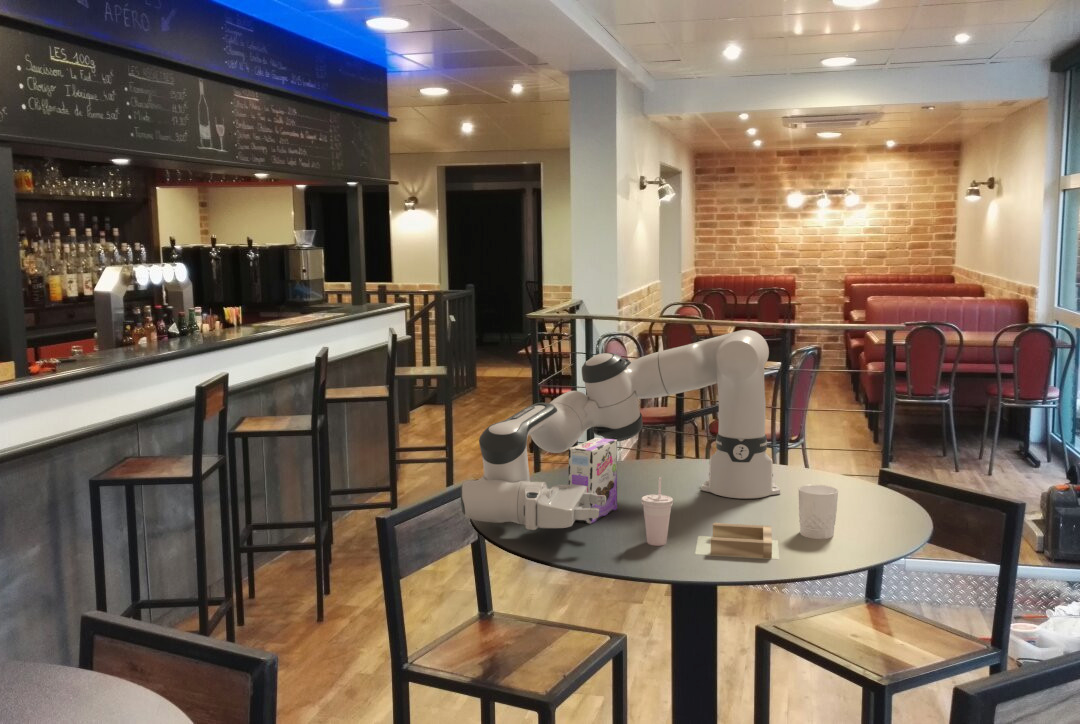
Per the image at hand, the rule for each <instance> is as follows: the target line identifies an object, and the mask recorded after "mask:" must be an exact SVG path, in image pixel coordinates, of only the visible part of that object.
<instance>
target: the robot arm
mask: <svg viewBox="0 0 1080 724" xmlns="http://www.w3.org/2000/svg"><path fill="white" fill-rule="evenodd" d="M769 350H770V348H769V345H768V343H767V340H766V339H765V338H764V337H763V336H762V335H761V334H760V333H758V332H757V331H754V330H750V329H741V330H737V331H733V332H729V333H725V334H722V335H718V336H714V337H710V338H707V339H704V340H700V341H697V342H693V343H688V344H685V345H681V346H677V347H672V348H667V349H664V350H659V351H657V352H653V353H649V354H646V355H643V356H641V357H638V358H636V359H634V360H631V361H630V359H628V358H623V356H621V355H619V354H616V353H613V352H605V353H599V354H595V355H594V356H592V357H590V358H589V359H587V360H585V362H584V363H583V364H582V367H581V375H582V382H584V386H585V390H586V394H585V393H583V392H581V391H578V390H571V391H566V392H564V393H563V394H561V395H559V396H557V397H556V398H554V399H553V400H551V401H550V402H536V403H533V404H531V405H528V406H527V407H525V408H523V409H521V410H519V411H518V412H516V413H514V414H513V415H512V416H510V417H508V418H506V419H504V420H501V421H497V422H495V423H493V424H491V425H489V426H488V427H486V428H485V429H484V431H483V432H482V433H481V435H480V436H479V439H478V444H479V448H480V452H481V456H482V463H483V476H482V477H480V478H478V480H475V479H474V480H468V481H464V482H462V484H461V488H460V507H461V512H462V514H463V516H464V517H465V518H467V519H470V520H473V521H479V522H485V523H496V524H497V523H498V524H501V523H507V522H510V523H512V522H513V523H515V524H518V525H524V526H525V529H526V530H530V531H535V530H537V529H538V528H539V529H564V528H570V527H572V526H573V524H574V523H575V522H576V521H575V520H582V519H587V518H598V516H599V508H593V507H591V508H583V506H584V505H585V504H590V503H592V504H597V505H605V503H606V496H604V495H596V494H593V493H587V487H586V486H583V485H569V484H557V485H553V486H551V487H550V488H549V487H548V485H547V482H546V481H531V480H530V479H531V478H530V468H529V459H528V458H529V457H528V437H529V436H530V437H531V439H532V441H533V442H534V444H535V445H536V446H538V448H540V449H541V450H543V451H545V452H548V453H552V454H559V453H563V452H565V451H567V450H568V451H569V448H572V447H574V445H575V444H576V443H577V442H578V440H579V439H580V438H581V437H582V436H583V434H584V433H585V432H586V431H588V430H589V429H592V433H594V434H595V435H596V436H600V437H601V438H605V439H615V440H617V442H624V441H626V440H627V441H628V440H630V439H632V438H634V437H635V436H637V435H638V434H639V433H640V432H641V430H642V429H643V414H642V412H641V410H640V405H639V402H638V399H639V400H640V399H641V400H643V399H644V400H645V399H653V398H654V399H655V398H662V397H667V396H671V395H673V396H674V395H677V394H681V393H686V392H689V391H695V390H698V389H704V388H706V387H708V386H712V385H716V384H717V395H718V427H717V428H718V433H716V438H715V442H716V443H715V445H716V446H715V447H716V451H715V453H713V454H712V455H711V456H710V458H709V463H708V464H709V472H708V479H707V480H706V481H705V482H704V483H702V485H701V487H700V490H701V491H704V492H708V493H712V494H714V495H716V496H717V495H718V496H721V497H723V498H724V497H725V498H731V499H759V498H766V497H768V496H772V495H773V496H775V495H779V494H781V489H780V487H779V486H778V485H777V484H776V483H775V482H774V480H773V476H774V473H773V459H772V458H771V457H770V456H769V454H767V449H768V447H767V446H768V439H767V438H768V436H767V435H766V410H767V409H766V408H767V407H766V404H767V403H766V402H767V401H766V390H765V389H766V388H765V367H766V366H765V365H766V364H767V362H768V359H769V355H770V351H769Z"/></svg>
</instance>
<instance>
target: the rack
mask: <svg viewBox="0 0 1080 724" xmlns="http://www.w3.org/2000/svg"><path fill="white" fill-rule="evenodd" d="M772 534H773V533H772V525H764V524H763V525H761V524H759V525H758V524H741V523H740V524H738V523H722V522H721V523H720V522H713V523H712V536H710V537H711V555H710V556H713V555H722V556H721V557H729V556H739V557H738V558H746V557H755V558H754V559H762V558H772V540H773V538H772V536H773V535H772Z"/></svg>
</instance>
